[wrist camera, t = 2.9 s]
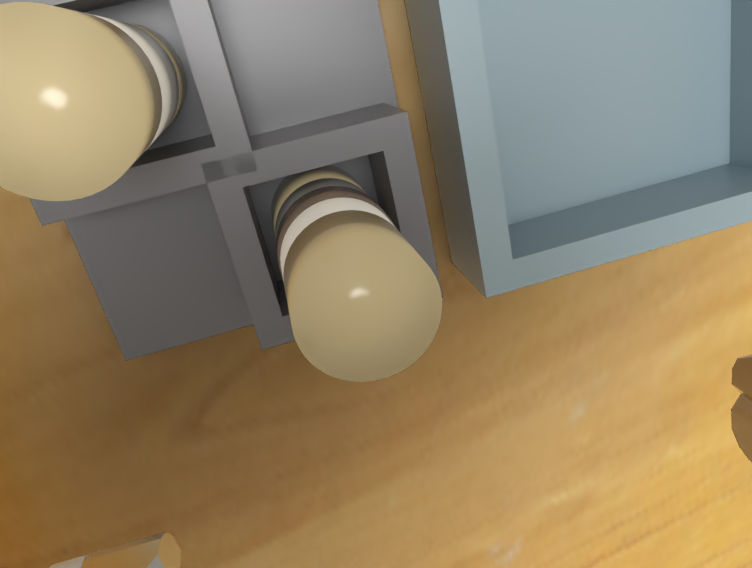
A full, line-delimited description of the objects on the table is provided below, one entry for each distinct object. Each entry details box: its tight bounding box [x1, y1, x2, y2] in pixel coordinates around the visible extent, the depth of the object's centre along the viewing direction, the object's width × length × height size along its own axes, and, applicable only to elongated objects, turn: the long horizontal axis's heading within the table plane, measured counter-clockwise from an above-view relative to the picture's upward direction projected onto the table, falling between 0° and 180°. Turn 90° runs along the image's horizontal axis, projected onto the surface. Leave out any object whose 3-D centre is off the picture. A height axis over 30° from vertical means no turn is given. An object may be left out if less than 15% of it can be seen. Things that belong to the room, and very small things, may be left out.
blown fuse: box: [271, 165, 442, 382], centre depth 19 cm, size 4×4×10 cm
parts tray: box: [405, 0, 752, 298], centre depth 23 cm, size 14×14×4 cm
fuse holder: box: [0, 0, 443, 361], centre depth 21 cm, size 14×13×4 cm
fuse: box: [0, 2, 187, 201], centre depth 16 cm, size 4×4×10 cm
